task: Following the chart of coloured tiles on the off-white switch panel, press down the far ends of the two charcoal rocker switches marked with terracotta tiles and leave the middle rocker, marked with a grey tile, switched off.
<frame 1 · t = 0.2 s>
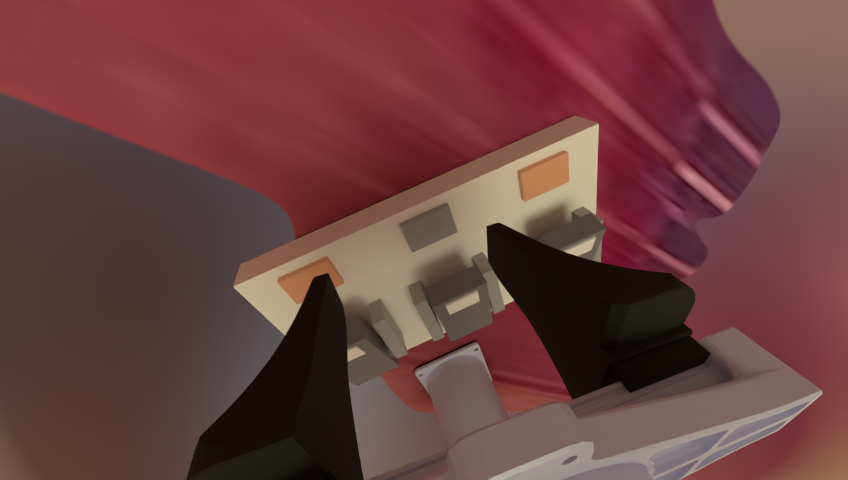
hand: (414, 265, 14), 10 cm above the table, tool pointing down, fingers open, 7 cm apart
switch panel: (437, 255, 27), on the table
rocker middle: (463, 308, 24), point 5 cm above the table, hinge at -16.0°
rocker 2: (358, 356, 24), point 5 cm above the table, hinge at -16.0°
rocker 1: (565, 261, 25), point 5 cm above the table, hinge at -16.0°
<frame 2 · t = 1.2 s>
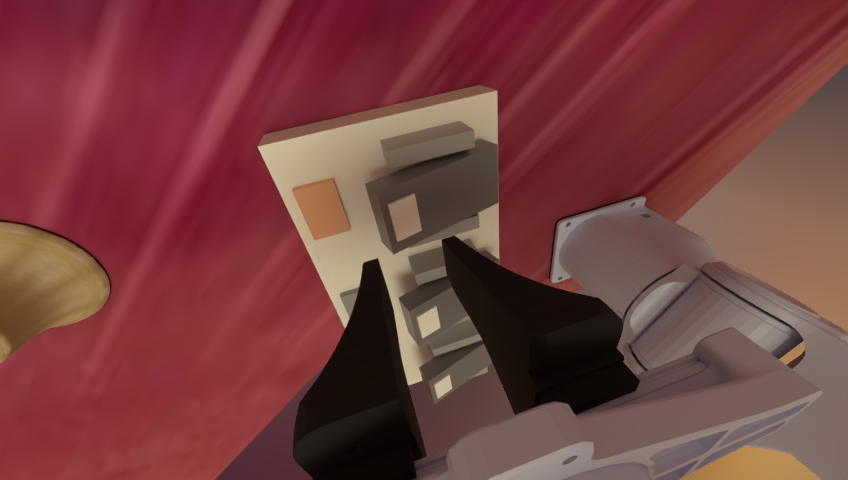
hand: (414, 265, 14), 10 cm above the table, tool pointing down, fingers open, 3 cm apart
switch panel: (413, 267, 27), on the table
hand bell: (26, 274, 20), on the table
rocker middle: (453, 297, 24), point 5 cm above the table, hinge at -16.0°
rocker 2: (462, 362, 29), point 5 cm above the table, hinge at -16.0°
rocker 1: (439, 194, 19), point 5 cm above the table, hinge at -16.0°
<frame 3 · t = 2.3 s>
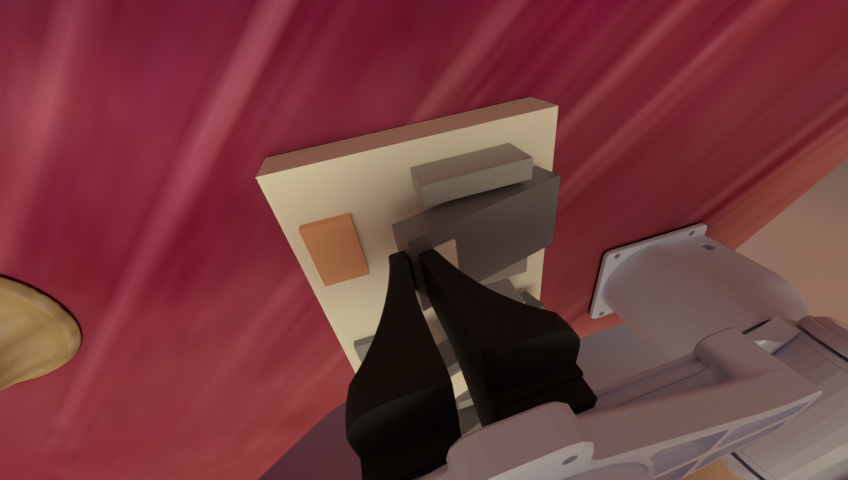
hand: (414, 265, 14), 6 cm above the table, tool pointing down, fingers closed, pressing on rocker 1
switch panel: (437, 304, 24), on the table
rocker middle: (488, 347, 20), point 5 cm above the table, hinge at -16.0°
rocker 2: (491, 413, 25), point 5 cm above the table, hinge at -16.0°
rocker 1: (482, 235, 15), point 5 cm above the table, hinge at -14.0°, touching gripper
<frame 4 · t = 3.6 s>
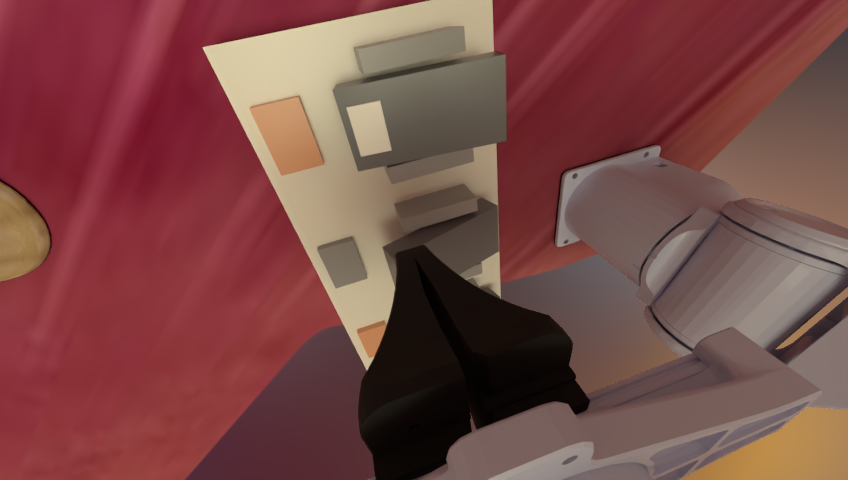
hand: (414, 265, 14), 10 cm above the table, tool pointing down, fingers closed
switch panel: (403, 223, 25), on the table
rocker middle: (446, 249, 21), point 5 cm above the table, hinge at -16.0°
rocker 2: (459, 331, 26), point 5 cm above the table, hinge at -16.0°
rocker 1: (424, 113, 16), point 5 cm above the table, hinge at 9.5°
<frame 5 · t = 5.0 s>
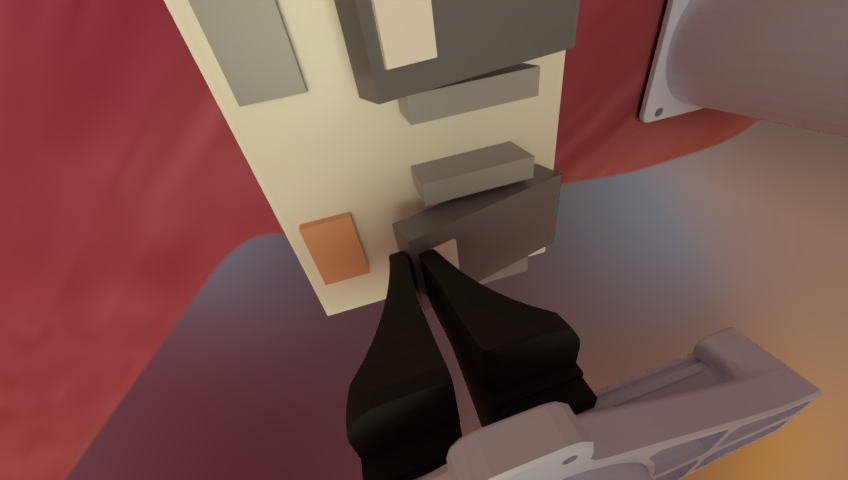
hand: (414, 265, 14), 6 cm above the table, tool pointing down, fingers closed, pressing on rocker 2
switch panel: (385, 15, 13), on the table
rocker 2: (483, 234, 15), point 5 cm above the table, hinge at -14.0°, touching gripper
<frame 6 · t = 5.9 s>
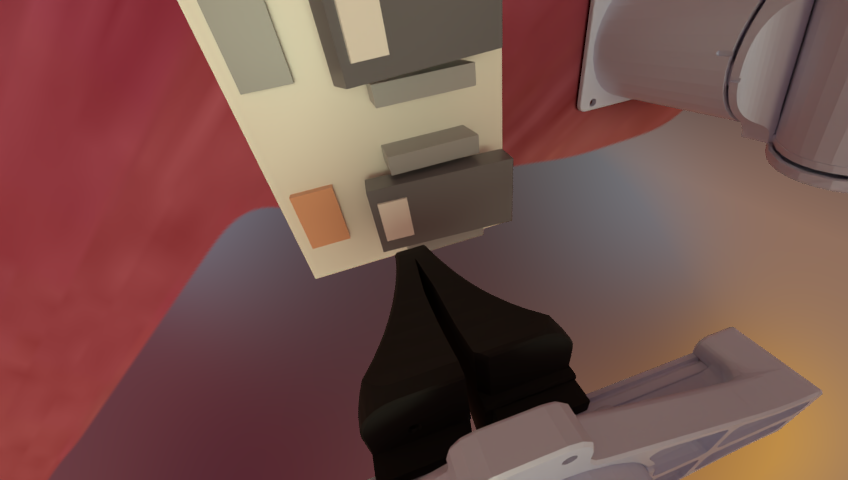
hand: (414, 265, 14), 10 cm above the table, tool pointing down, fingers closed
switch panel: (356, 23, 16), on the table
rocker middle: (416, 10, 13), point 5 cm above the table, hinge at -16.0°
rocker 2: (441, 201, 18), point 5 cm above the table, hinge at 4.5°
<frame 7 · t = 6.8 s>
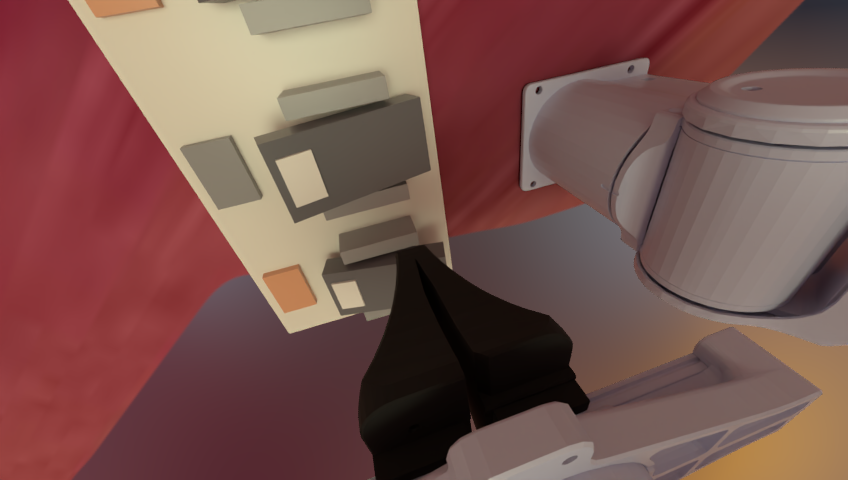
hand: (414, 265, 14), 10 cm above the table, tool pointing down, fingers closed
switch panel: (317, 138, 20), on the table
rocker middle: (353, 156, 16), point 5 cm above the table, hinge at -16.0°
rocker 2: (390, 280, 21), point 5 cm above the table, hinge at 11.6°
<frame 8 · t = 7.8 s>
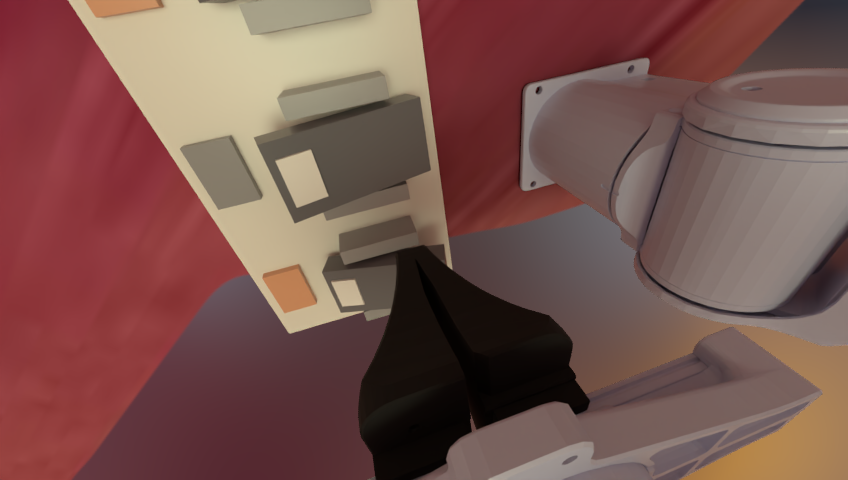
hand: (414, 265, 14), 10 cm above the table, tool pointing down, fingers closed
switch panel: (317, 138, 20), on the table
rocker middle: (353, 156, 16), point 5 cm above the table, hinge at -16.0°
rocker 2: (390, 280, 21), point 5 cm above the table, hinge at 15.5°
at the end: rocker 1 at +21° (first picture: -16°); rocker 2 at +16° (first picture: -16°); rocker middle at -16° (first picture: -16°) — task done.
